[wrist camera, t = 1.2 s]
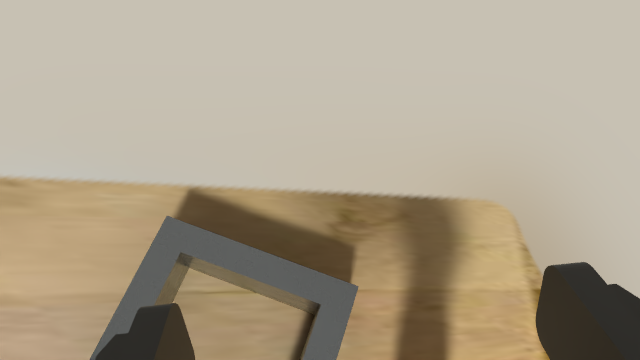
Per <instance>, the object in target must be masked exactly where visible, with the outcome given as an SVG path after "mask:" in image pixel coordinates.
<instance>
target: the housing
mask: <svg viewBox="0 0 640 360" xmlns="http://www.w3.org/2000/svg"><path fill="white" fill-rule="evenodd" d="M189 268H191V269H194V270H197V271H200V272H202V273H205V274H208V275H210V276H213V277H216V278H218V279H221V280H224V281H226V282H229V283H232V284H234V285H237V286H240V287H242V288H245V289H248V290H250V291H253V292H256V293H258V294H261V295H264V296H266V297H269V298H272V299H274V300H277V301H280V302H282V303H285V304H288V305H290V306H293V307H296V308H298V309H301V310H304V311H306V312H309V313H312V314H314V315H315V316H314V319H313V322H312V325H311V328H310V331H309V334H308V337H307V340H306V343H305V346H304V349H303V352H302V355H301V357H300V360H336V359H337V355H338V352H339V349H340V346H341V342H342V339H343V336H344V332H345V329H346V326H347V323H348V319H349V316H350V313H351V310H352V306H353V303H354V300H355V296H356V293H357V290H358V287H359V286H356V285H353V284H350V283H348V282H345V281H342V280H340V279H337V278H334V277H332V276H329V275H326V274H323V273H321V272H318V271H315V270H313V269H310V268H307V267H304V266H302V265H299V264H296V263H294V262H291V261H288V260H286V259H283V258H280V257H277V256H275V255H272V254H269V253H267V252H264V251H261V250H258V249H256V248H253V247H250V246H248V245H245V244H242V243H240V242H237V241H234V240H231V239H229V238H226V237H223V236H221V235H218V234H215V233H212V232H210V231H207V230H204V229H202V228H199V227H196V226H194V225H191V224H188V223H185V222H183V221H180V220H177V219H175V218H172V217H169V216H167V217H166V218H165V220H164V222H163V224H162V226H161V228H160V230H159V231H158V233H157V235H156V237H155V239H154V241H153V243H152V244H151V246H150V248H149V250H148V252H147V254H146V256H145V257H144V259H143V261H142V263H141V265H140V267H139V269H138V270H137V272H136V274H135V276H134V278H133V280H132V282H131V283H130V285H129V287H128V289H127V291H126V293H125V295H124V297H123V298H122V300H121V302H120V304H119V306H118V308H117V310H116V311H115V313H114V315H113V317H112V319H111V321H110V323H109V324H108V326H107V328H106V330H105V332H104V334H103V336H102V337H101V339H100V341H99V343H98V345H97V347H96V349H95V350H94V352H93V354H92V356H91V358H90V360H95V358H96V356H97V355H98V353H99V352H100V351H101V350H102V349H103V348H104V347H105V346H106V345H107V343H108V342H109V341H110V340H111V339H112V338H113V337H114V336H115V335H116V334H124V333H128V332H129V330H130V327H131V325H132V322H133V320H134V317H135V315H136V313H137V311H138V309H139V308H140V307H143V306H153V305H163V304H172V302H173V300H174V297H175V295H176V293H177V291H178V289H179V287H180V285H181V283H182V281H183V279H184V277H185V275H186V273H187V271H188V269H189Z"/></svg>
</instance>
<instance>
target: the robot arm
mask: <svg viewBox="0 0 640 360" xmlns="http://www.w3.org/2000/svg"><path fill="white" fill-rule="evenodd" d="M536 328H537V333H538V336H539V339H540V342H541V344H542V346H543V348H544V349H545V351H546V353H547V355H548V356H549V358H550V360H640V299H639V298H638V297H636V296H634V295H633V294H631V293H630V292H628V291H627V290H625V289H624V288H622V287H620V286H619V285H617V284H610V285H607V284H606V283H605V281H604V280H603V279H602V278H601V277H600V275H599V274H598V273H597V272H596V271H595V270H594V269H593V267H591V265H589V264H588V263H585V262H581V263H571V264H561V265H551V266H548V267H547V268H546V269H545V271H544V276H543V281H542V286H541V292H540V297H539V302H538V308H537V313H536ZM95 360H195V355H194V350H193V347H192V344H191V341H190V338H189V334H188V331H187V328H186V325H185V322H184V319H183V316H182V313H181V310H180V307H179V306H178V304H176V303H172V304H163V305H153V306H143V307H140V308H139V309H138V311H137V313H136V315H135V317H134V320H133V322H132V325H131V327H130V330H129V332H128V333H124V334H116V335H115V336H114V337H113V338H112V339H111V340H110V341H109V342H108V343H107V345H106V346H105V347H104V348H103V349H102V350H101V351H100V352H99V353H98V355H97V356H96V358H95Z"/></svg>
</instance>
